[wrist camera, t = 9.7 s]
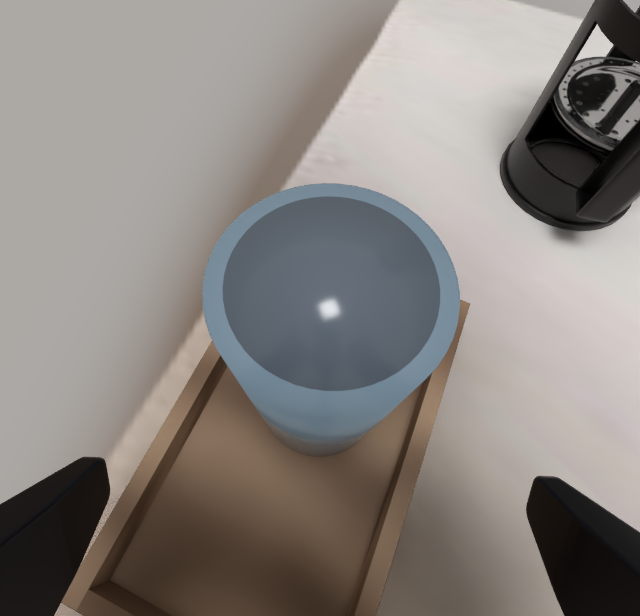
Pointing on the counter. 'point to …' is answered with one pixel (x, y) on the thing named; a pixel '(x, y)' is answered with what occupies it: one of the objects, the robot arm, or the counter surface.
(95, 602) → the tray
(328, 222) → the cup
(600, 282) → the counter surface
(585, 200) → the french press
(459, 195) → the counter surface
